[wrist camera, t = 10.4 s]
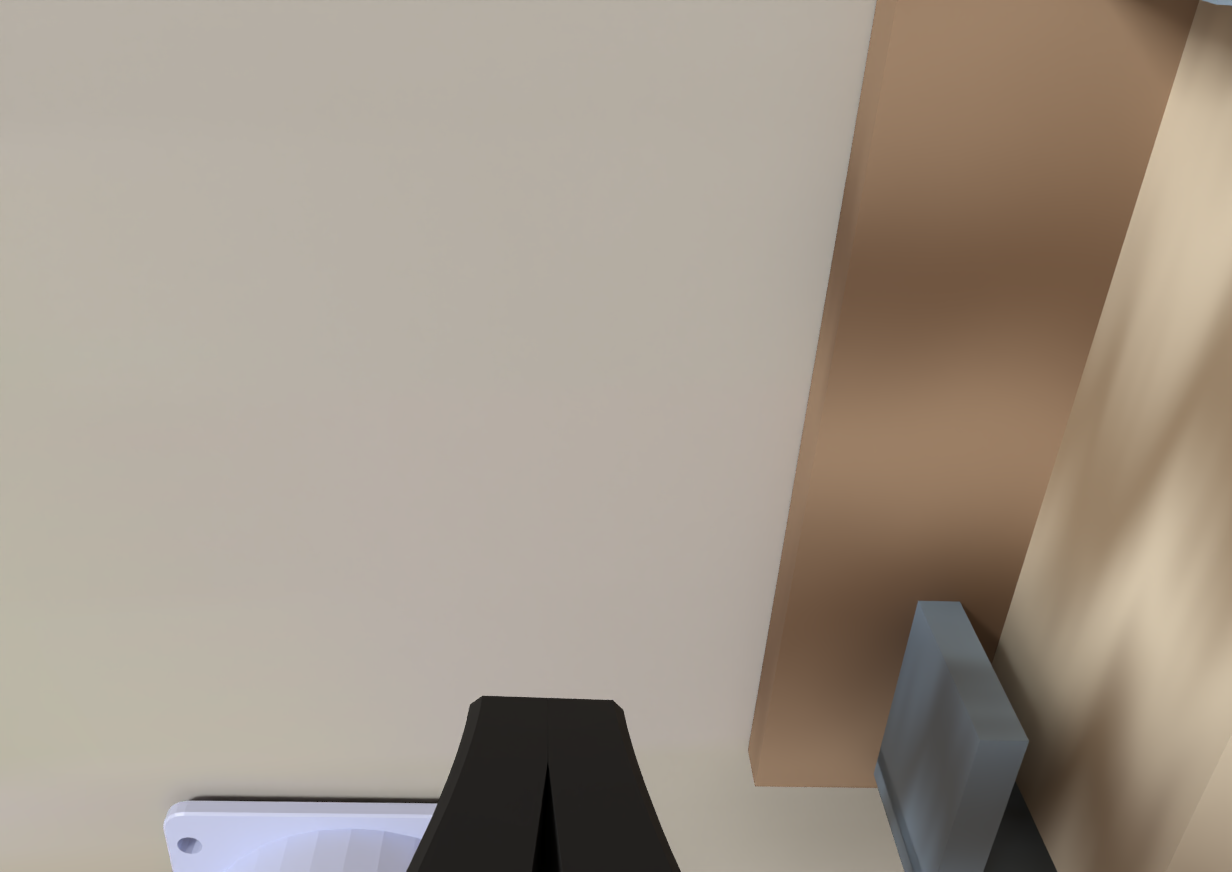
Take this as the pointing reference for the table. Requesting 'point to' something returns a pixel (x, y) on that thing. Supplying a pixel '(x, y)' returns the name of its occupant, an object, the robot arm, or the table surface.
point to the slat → (1143, 529)
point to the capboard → (951, 399)
